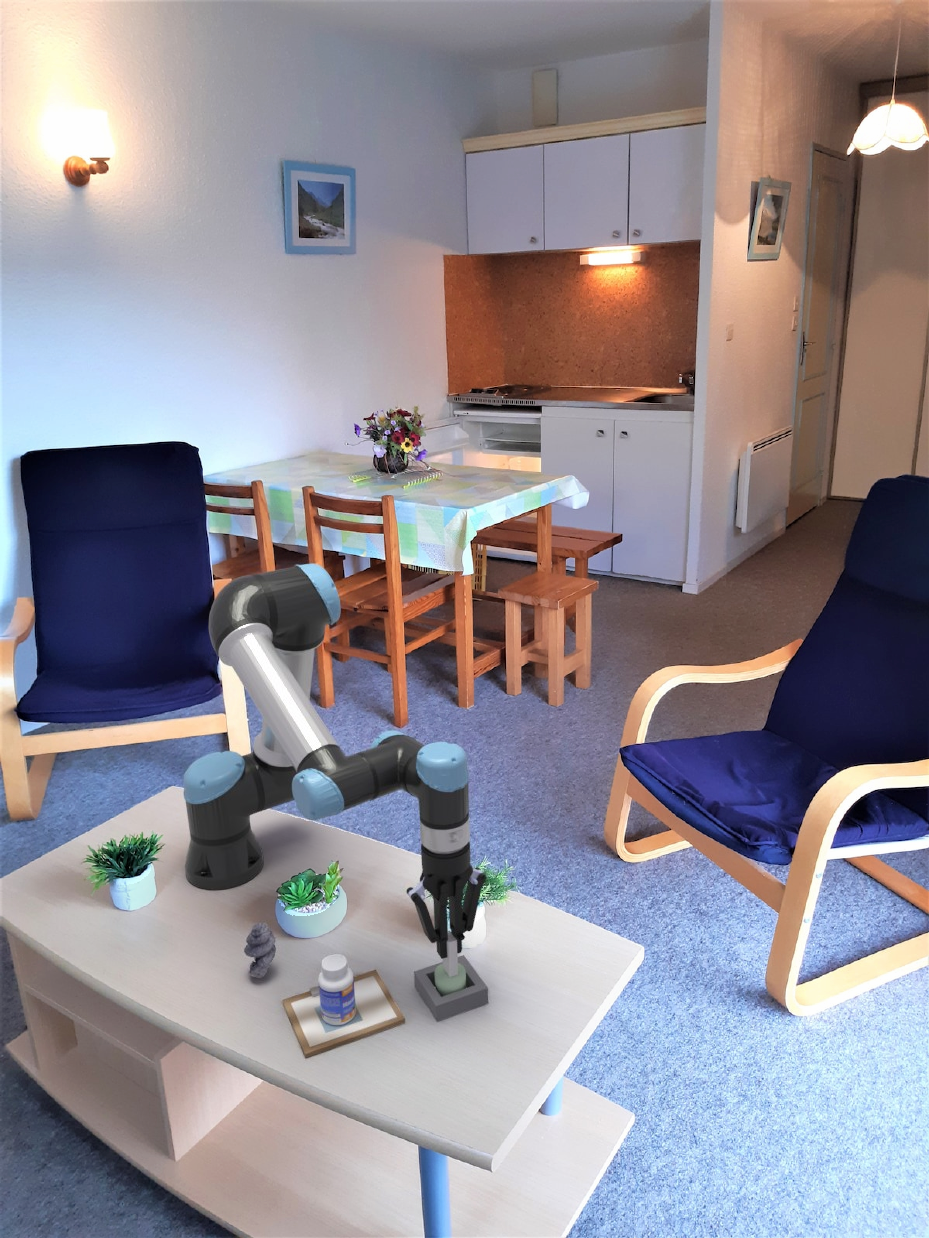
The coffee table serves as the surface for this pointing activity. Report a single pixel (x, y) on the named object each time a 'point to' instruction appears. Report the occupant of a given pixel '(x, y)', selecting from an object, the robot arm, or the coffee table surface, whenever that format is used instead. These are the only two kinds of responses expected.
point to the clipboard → (369, 1019)
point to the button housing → (455, 1001)
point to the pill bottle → (336, 990)
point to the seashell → (260, 949)
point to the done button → (449, 980)
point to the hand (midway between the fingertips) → (450, 970)
